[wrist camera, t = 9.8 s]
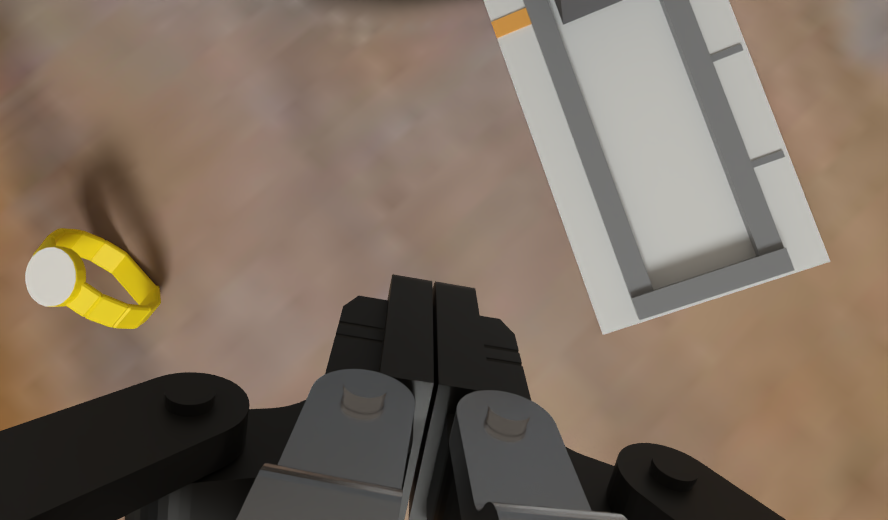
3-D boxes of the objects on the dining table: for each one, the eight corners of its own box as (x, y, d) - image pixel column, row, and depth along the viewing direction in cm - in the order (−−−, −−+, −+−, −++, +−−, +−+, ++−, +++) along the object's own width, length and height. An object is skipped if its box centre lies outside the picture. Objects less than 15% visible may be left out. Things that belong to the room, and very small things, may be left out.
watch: (188, 297, 37) (113, 302, 31) (156, 335, 37) (75, 347, 31) (115, 221, 38) (28, 212, 32) (84, 259, 38) (-7, 257, 32)
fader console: (822, 262, 31) (838, 261, 29) (602, 332, 33) (603, 336, 31) (649, -185, 32) (653, -214, 31) (450, -93, 34) (442, -115, 32)
